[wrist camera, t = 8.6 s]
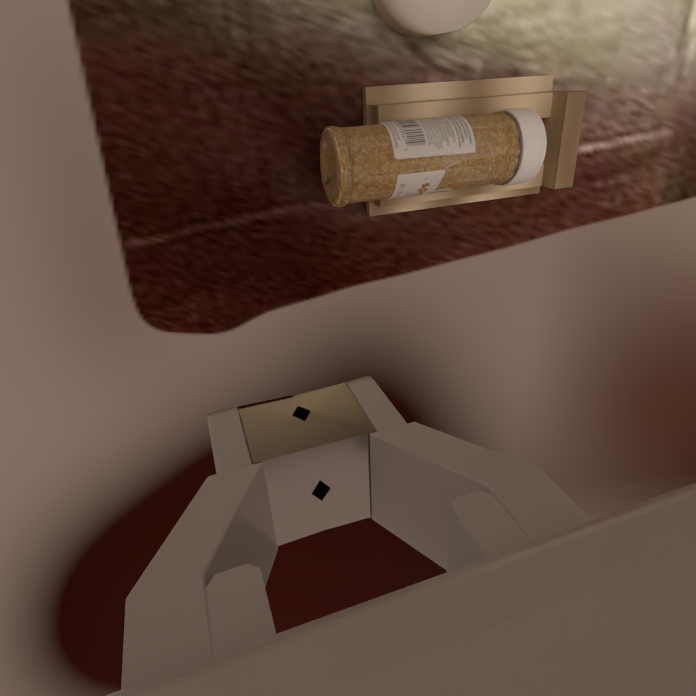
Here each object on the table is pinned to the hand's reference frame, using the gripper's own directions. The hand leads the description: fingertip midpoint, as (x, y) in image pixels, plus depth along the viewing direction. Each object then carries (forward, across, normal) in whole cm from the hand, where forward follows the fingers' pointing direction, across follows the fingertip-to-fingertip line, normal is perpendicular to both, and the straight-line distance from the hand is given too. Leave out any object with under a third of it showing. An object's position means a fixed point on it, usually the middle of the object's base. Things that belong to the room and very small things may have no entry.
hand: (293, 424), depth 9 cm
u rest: (+26, -18, 0) cm, 32 cm away
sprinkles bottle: (+22, -7, -1) cm, 23 cm away
